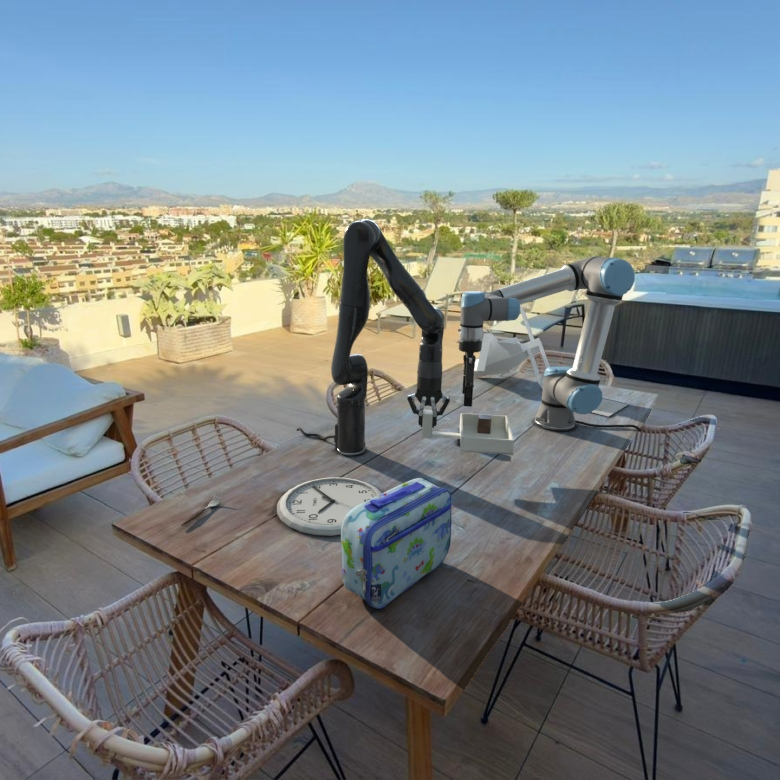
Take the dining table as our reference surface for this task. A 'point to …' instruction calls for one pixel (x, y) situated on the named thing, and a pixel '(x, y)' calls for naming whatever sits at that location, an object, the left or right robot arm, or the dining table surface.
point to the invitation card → (608, 407)
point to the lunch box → (395, 540)
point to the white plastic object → (508, 354)
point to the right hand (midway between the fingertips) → (466, 399)
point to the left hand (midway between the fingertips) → (427, 426)
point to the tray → (475, 434)
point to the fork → (211, 504)
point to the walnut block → (484, 424)
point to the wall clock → (323, 504)
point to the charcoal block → (458, 439)
